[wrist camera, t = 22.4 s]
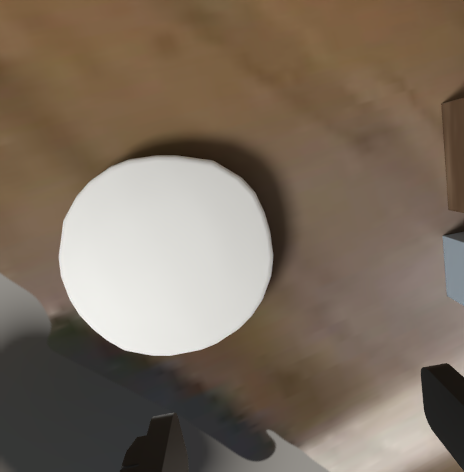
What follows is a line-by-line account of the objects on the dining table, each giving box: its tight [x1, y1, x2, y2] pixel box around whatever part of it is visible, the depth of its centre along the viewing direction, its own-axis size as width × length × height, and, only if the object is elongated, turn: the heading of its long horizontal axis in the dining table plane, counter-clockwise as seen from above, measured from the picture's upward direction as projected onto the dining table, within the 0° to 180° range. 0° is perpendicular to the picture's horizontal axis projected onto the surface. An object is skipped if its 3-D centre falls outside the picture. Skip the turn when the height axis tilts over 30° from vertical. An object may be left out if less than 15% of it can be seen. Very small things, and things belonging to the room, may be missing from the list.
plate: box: [59, 155, 273, 356], centre depth 46 cm, size 28×6×27 cm
